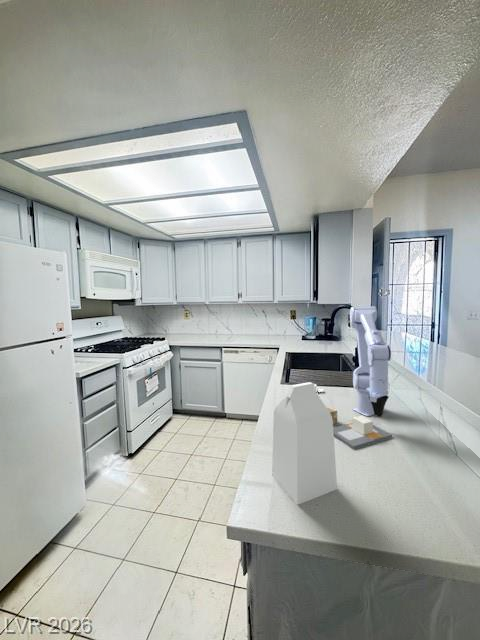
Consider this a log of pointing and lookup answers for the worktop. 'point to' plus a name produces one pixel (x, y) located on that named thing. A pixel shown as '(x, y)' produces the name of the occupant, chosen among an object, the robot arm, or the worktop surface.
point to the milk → (303, 445)
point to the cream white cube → (362, 425)
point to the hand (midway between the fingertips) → (378, 415)
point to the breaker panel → (359, 436)
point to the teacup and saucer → (318, 389)
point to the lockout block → (333, 414)
